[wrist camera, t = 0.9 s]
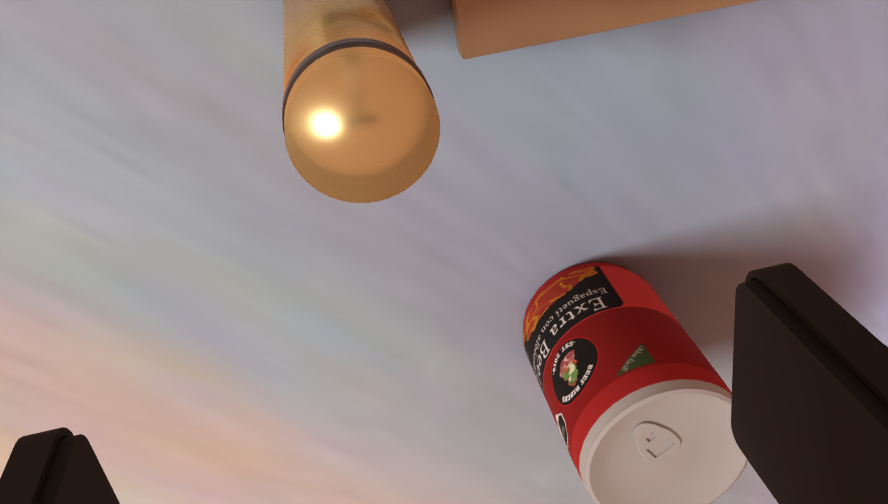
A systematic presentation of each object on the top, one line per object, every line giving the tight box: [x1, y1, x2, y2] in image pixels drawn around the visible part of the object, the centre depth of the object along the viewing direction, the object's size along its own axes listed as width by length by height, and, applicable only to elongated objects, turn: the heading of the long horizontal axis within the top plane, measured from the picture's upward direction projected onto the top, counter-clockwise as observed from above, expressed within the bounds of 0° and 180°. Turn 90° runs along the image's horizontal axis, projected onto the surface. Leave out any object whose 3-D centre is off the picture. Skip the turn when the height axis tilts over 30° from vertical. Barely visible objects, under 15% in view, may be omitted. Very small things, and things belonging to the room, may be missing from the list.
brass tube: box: [282, 0, 440, 203], centre depth 27 cm, size 4×4×15 cm
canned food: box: [523, 262, 748, 504], centre depth 39 cm, size 8×8×11 cm
